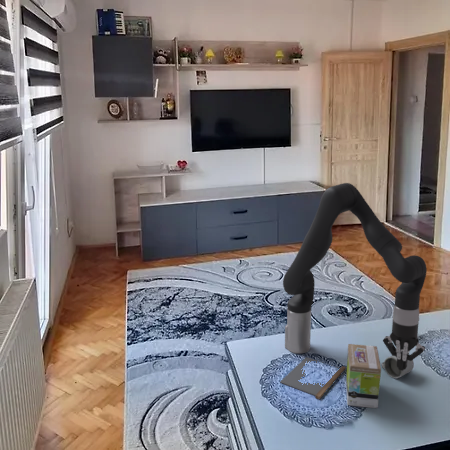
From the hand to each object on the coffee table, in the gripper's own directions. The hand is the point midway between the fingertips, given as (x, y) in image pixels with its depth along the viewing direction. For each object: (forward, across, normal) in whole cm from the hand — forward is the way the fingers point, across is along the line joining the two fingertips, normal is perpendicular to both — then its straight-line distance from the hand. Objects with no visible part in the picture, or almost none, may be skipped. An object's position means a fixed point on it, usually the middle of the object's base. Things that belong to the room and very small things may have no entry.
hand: (401, 369), depth 156 cm
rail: (+14, -24, 0) cm, 27 cm away
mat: (+14, -32, 0) cm, 34 cm away
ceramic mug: (+14, -8, +19) cm, 25 cm away
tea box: (+14, -13, 0) cm, 19 cm away
